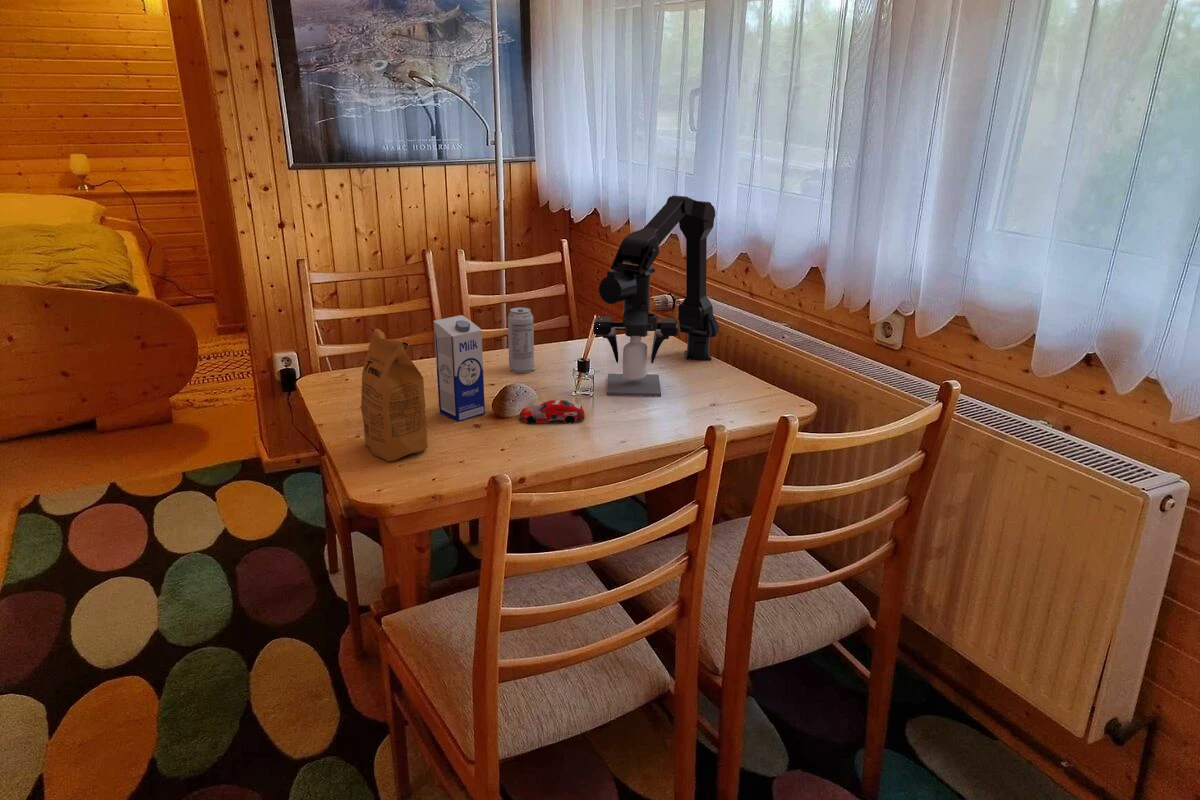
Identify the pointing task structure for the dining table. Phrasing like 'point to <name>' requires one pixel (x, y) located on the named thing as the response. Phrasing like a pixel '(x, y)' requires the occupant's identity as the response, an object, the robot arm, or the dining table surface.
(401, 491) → the dining table surface
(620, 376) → the charcoal pad
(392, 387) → the coffee package
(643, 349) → the white bottle
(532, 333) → the energy drink can
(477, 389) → the milk carton
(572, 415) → the race car
